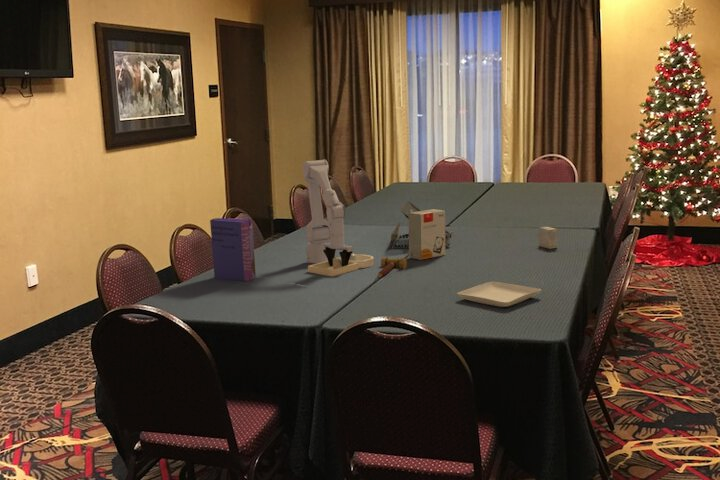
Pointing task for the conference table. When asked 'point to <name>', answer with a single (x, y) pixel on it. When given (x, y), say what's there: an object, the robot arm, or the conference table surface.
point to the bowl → (364, 261)
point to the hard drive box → (426, 234)
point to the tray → (331, 268)
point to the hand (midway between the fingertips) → (338, 266)
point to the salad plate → (498, 294)
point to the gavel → (391, 265)
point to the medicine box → (548, 237)
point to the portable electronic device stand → (396, 234)
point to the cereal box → (233, 249)
